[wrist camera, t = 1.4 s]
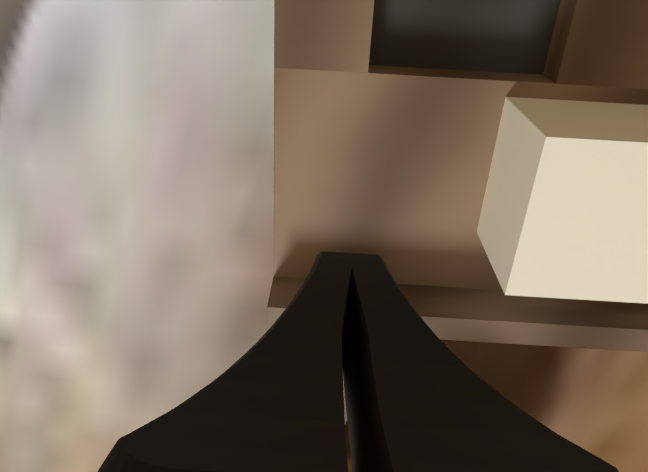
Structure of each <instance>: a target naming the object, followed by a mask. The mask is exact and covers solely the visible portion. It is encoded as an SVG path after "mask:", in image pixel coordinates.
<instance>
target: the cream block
mask: <svg viewBox="0 0 648 472" xmlns="http://www.w3.org/2000/svg"><path fill="white" fill-rule="evenodd" d="M477 234H478V236H479V238H480V241H481V243H482V245H483V247H484V250H485V252H486V254H487V256H488V259H489V261H490V263H491V265H492V267H493V270H494V272H495V274H496V276H497V279H498V281H499V283H500V285H501V288H502V290H503V292H504V294H505V295H511V296H527V297H544V298H561V299H578V300H595V301H611V302H628V303H645V304H648V105H641V104H623V103H606V102H588V101H571V100H553V99H536V98H519V97H505V102H504V106H503V111H502V116H501V120H500V125H499V130H498V134H497V139H496V144H495V148H494V153H493V158H492V162H491V167H490V172H489V176H488V181H487V186H486V191H485V195H484V200H483V205H482V209H481V214H480V219H479V223H478V228H477Z"/></svg>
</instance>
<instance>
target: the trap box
mask: <svg viewBox="0 0 648 472" xmlns="http://www.w3.org/2000/svg"><path fill="white" fill-rule="evenodd" d="M505 97H519V98H536V99H553V100H571V101H588V102H606V103H623V104H641V105H648V0H275V30H274V277H273V282H272V287H271V292H270V296H269V301H268V306H267V329H270V328H271V326H272V325H273V324H274V323H275V322H276V320H277V319H278V318H279V316H280V315H281V314H282V313H283V311H284V310H285V309H286V308H287V306H288V305H289V304H290V302H291V301H292V300H293V298H294V297H295V295H296V293H297V292H298V290H299V289H300V287H301V286H302V284H303V283H304V281H305V279H306V278H307V276H308V274H309V272H310V270H311V268H312V266H313V264H314V262H315V259H316V255H318V254H319V253H320V252H322V251H327V252H344V253H360V254H377V255H379V256H380V257H381V258H382V259H383V261H384V263H385V264H386V266H387V268H388V270H389V271H390V273H391V275H392V276H393V278H394V280H395V281H396V283H397V284H398V286H399V287H400V289H401V290H402V292H403V293H404V295H405V296H406V298H407V299H408V300H409V302H410V303H411V304H412V306H413V307H414V308H415V310H416V311H417V313H418V314H419V315H420V316H421V318H422V319H423V320H424V322H425V323H426V324H427V325H428V326H429V328H430V329H431V330H432V331H433V332H434V333H435V335H436V336H437V337H438V338H439V339H440V340H457V341H473V342H490V343H507V344H523V345H540V346H557V347H573V348H590V349H607V350H623V351H640V352H648V304H645V303H628V302H611V301H595V300H578V299H561V298H544V297H527V296H511V295H505V294H504V292H503V290H502V288H501V285H500V283H499V281H498V279H497V276H496V274H495V272H494V270H493V267H492V265H491V263H490V261H489V259H488V256H487V254H486V252H485V250H484V247H483V245H482V243H481V241H480V238H479V236H478V234H477V228H478V223H479V219H480V214H481V209H482V205H483V200H484V195H485V191H486V186H487V181H488V176H489V172H490V167H491V162H492V158H493V153H494V148H495V144H496V139H497V134H498V130H499V125H500V120H501V116H502V111H503V106H504V102H505Z"/></svg>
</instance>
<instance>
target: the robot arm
mask: <svg viewBox="0 0 648 472" xmlns="http://www.w3.org/2000/svg"><path fill="white" fill-rule="evenodd" d="M343 376H344V387H345V399H346V409H347V420H348V431H349V441H350V452H351V465H352V472H619V471H618V470H617V468H616V467H614V466H612V465H610V464H609V463H607V462H605V461H603V460H602V459H600V458H598V457H596V456H595V455H593V454H591V453H589V452H588V451H586V450H584V449H582V448H581V447H579V446H577V445H575V444H574V443H572V442H570V441H569V440H567V439H565V438H563V437H562V436H560V435H558V434H557V433H555V432H553V431H552V430H550V429H549V428H547V427H546V426H544V425H543V424H541V423H540V422H538V421H537V420H535V419H534V418H532V417H531V416H529V415H528V414H526V413H525V412H523V411H522V410H521V409H519V408H518V407H517V406H515V405H514V404H512V403H511V402H510V401H508V400H507V399H506V398H504V397H503V396H502V395H500V394H499V393H498V392H497V391H495V390H494V389H493V388H492V387H490V386H489V385H488V384H487V383H485V382H484V381H483V380H482V379H480V378H479V377H478V376H477V375H476V374H475V373H474V372H472V371H471V370H470V369H469V368H468V367H467V366H466V365H465V364H464V363H463V362H462V361H460V360H459V359H458V358H457V357H456V356H455V355H454V354H453V353H452V352H451V351H450V350H449V349H448V348H447V347H446V346H445V345H444V344H443V342H442V341H441V340H440V339H439V338H438V337H437V336H436V335H435V333H434V332H433V331H432V330H431V329H430V328H429V326H428V325H427V324H426V323H425V322H424V320H423V319H422V318H421V316H420V315H419V314H418V313H417V311H416V310H415V308H414V307H413V306H412V304H411V303H410V302H409V300H408V299H407V298H406V296H405V295H404V293H403V292H402V290H401V289H400V287H399V286H398V284H397V283H396V281H395V280H394V278H393V276H392V275H391V273H390V271H389V270H388V268H387V266H386V264H385V263H384V261H383V259H382V258H381V257H380V256H379V255H377V254H360V253H344V252H327V251H322V252H320V253H319V254H318V255H316V259H315V262H314V264H313V266H312V268H311V270H310V272H309V274H308V276H307V278H306V279H305V281H304V283H303V284H302V286H301V287H300V289H299V290H298V292H297V293H296V295H295V297H294V298H293V300H292V301H291V302H290V304H289V305H288V306H287V308H286V309H285V310H284V311H283V313H282V314H281V315H280V316H279V318H278V319H277V320H276V322H275V323H274V324H273V325H272V326H271V328H270V329H269V330H268V331H267V332H266V333H265V334H264V335H263V336H262V338H261V339H260V340H259V341H258V342H257V343H256V344H255V345H254V346H253V347H252V348H251V349H250V350H249V351H248V352H247V353H246V354H245V355H243V356H242V357H241V358H240V359H239V360H238V361H237V362H235V363H234V364H233V365H232V366H231V367H230V368H229V369H228V370H226V371H225V372H224V373H223V374H222V375H220V376H219V377H218V378H217V379H215V380H214V381H213V382H212V383H210V384H209V385H207V386H206V387H204V388H203V389H202V390H200V391H199V392H197V393H196V394H195V395H193V396H192V397H190V398H189V399H187V400H186V401H185V402H183V403H182V404H180V405H179V406H177V407H176V408H174V409H172V410H171V411H169V412H167V413H166V414H164V415H162V416H160V417H158V418H157V419H155V420H153V421H151V422H149V423H148V424H146V425H144V426H142V427H140V428H139V429H137V430H135V431H133V432H131V433H129V434H127V435H125V436H123V437H121V438H120V439H119V440H118V441H117V442H116V444H115V445H114V447H113V448H112V450H111V451H110V453H109V455H108V456H107V458H106V459H105V461H104V462H103V464H102V465H101V467H100V469H99V471H98V472H348V464H347V450H346V436H345V420H344V398H343Z"/></svg>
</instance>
